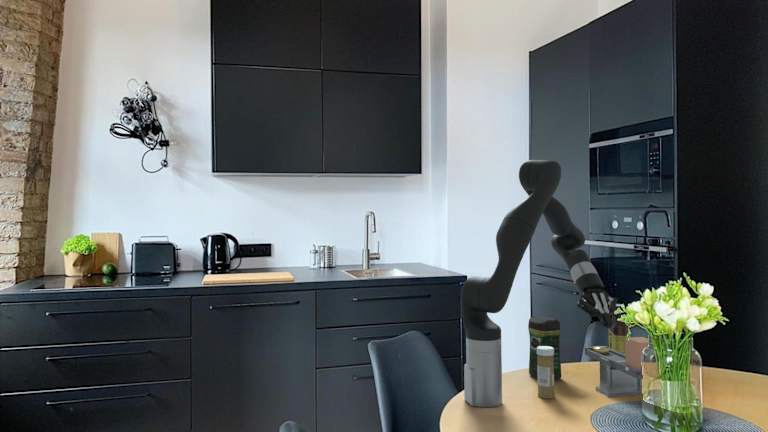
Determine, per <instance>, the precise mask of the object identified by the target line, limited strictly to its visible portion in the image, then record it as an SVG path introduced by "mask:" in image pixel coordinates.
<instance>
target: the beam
mask: <svg viewBox="0 0 768 432" xmlns="http://www.w3.org/2000/svg"><path fill="white" fill-rule="evenodd" d="M604 346H605V347H608V348H609V345H608V346H607V345H604ZM593 347H594V346H587V347H584V355H585V356H587V357H588V358H589V357H590V358H591V359H593V360H596V361H598V362H600V357H603V358H605V359H607V360H609V361H610V367H613V368H615V369H617V370H619V371H621V372H624V373H626V374H628V375H630V376H632V377H634V378H637V379H643V375H642V370H635V369H633V368H630V367H628V366H626V355H624V354H622V353H619V352H617V351H614V350H612V349H609V354H608V355H601V354H598V353H596V352H594V351H593ZM643 380H644V379H643Z"/></svg>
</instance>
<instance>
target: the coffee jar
mask: <svg viewBox="0 0 768 432" xmlns="http://www.w3.org/2000/svg"><path fill="white" fill-rule="evenodd" d="M527 329H528V334H529V361H528V374H529V375H530V377H533V378H536V379H537V380H538V371H537V365H538V356H537V347H539V346H550V347H553V348H554V357H553V362H554V365H553V366H554V382H555V381H558V380H560V379H561V378H562V362H561V351H560V336H561V332H562V331H561V330H562V328H561V322H560V321H559V320H558V319H556V318H552V317H549V316H545V315H535V316H530V318H529V319H528V327H527Z"/></svg>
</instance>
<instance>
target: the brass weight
mask: <svg viewBox="0 0 768 432" xmlns="http://www.w3.org/2000/svg"><path fill="white" fill-rule="evenodd" d="M605 346H606V345H595V346H592V347H593V351H594V352H596V353H598V354H601V355H608V354H609V346H608V347H605Z"/></svg>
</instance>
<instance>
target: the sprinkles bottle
mask: <svg viewBox="0 0 768 432" xmlns="http://www.w3.org/2000/svg"><path fill="white" fill-rule="evenodd" d="M537 356H538V365H537V371H538V379H537V396H538V397H539V398H541V399H547V400H548V399H553V398H555V396H556V394H555V381H554V366H553V365H554V362H553V357H554V348H553V347H550V346H539V347H537Z"/></svg>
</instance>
